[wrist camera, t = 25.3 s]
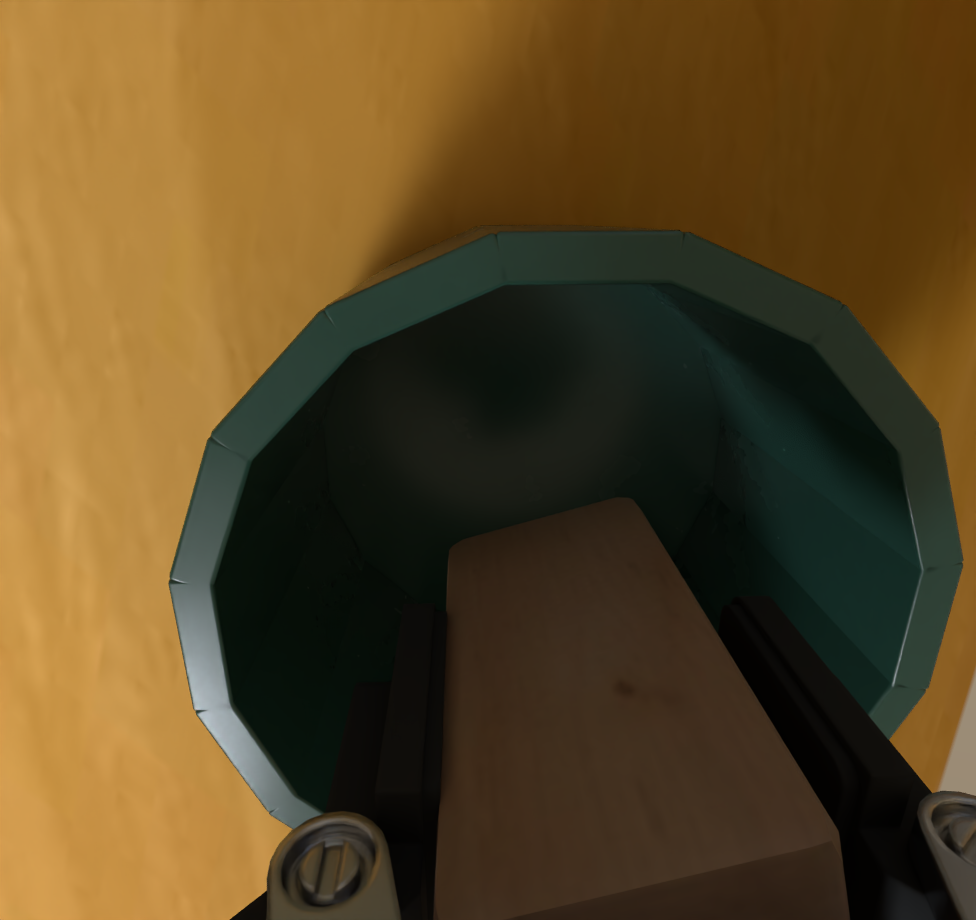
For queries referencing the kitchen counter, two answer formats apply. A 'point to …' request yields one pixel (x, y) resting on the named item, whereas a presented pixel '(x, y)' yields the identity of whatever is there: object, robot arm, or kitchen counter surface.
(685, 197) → the kitchen counter surface
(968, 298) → the kitchen counter surface
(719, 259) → the tin
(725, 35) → the kitchen counter surface
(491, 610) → the wooden block
